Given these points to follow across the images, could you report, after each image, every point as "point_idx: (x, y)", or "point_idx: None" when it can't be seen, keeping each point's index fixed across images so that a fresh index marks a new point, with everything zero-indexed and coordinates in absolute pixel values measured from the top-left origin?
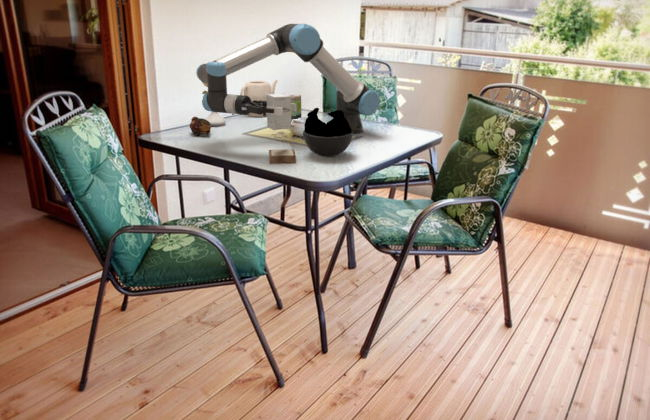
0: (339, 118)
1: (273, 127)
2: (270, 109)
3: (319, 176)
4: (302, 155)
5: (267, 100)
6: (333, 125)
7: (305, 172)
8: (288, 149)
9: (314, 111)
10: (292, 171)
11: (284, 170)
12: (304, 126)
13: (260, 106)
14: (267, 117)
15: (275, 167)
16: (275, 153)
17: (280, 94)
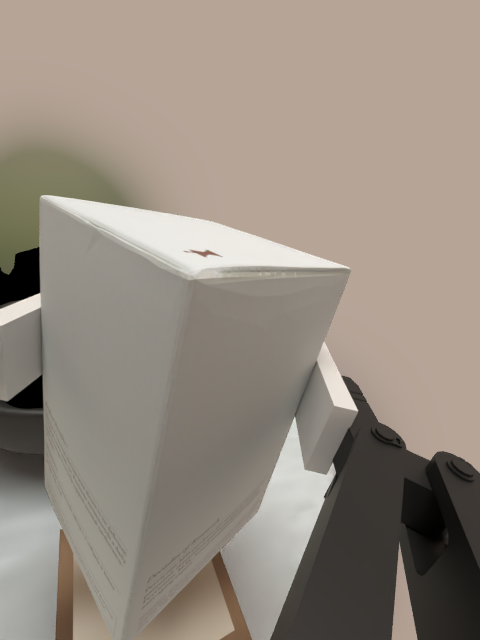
0: None
1: (258, 503)
2: (360, 391)
3: (292, 422)
4: (38, 514)
5: (209, 372)
6: None
7: (280, 456)
8: (61, 563)
9: (11, 283)
10: (293, 496)
11: (298, 529)
12: (24, 389)
13: (396, 497)
14: (152, 573)
15: (282, 590)
16: (179, 622)
17: (161, 218)
